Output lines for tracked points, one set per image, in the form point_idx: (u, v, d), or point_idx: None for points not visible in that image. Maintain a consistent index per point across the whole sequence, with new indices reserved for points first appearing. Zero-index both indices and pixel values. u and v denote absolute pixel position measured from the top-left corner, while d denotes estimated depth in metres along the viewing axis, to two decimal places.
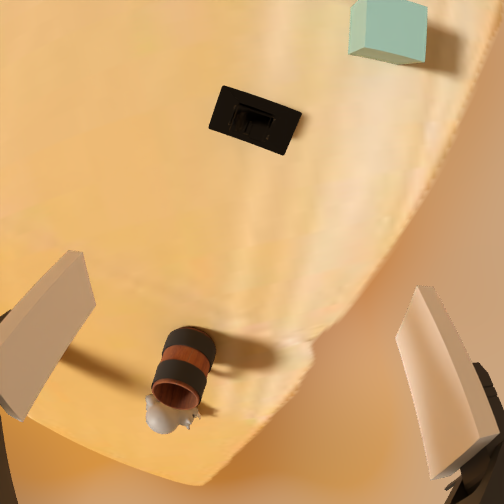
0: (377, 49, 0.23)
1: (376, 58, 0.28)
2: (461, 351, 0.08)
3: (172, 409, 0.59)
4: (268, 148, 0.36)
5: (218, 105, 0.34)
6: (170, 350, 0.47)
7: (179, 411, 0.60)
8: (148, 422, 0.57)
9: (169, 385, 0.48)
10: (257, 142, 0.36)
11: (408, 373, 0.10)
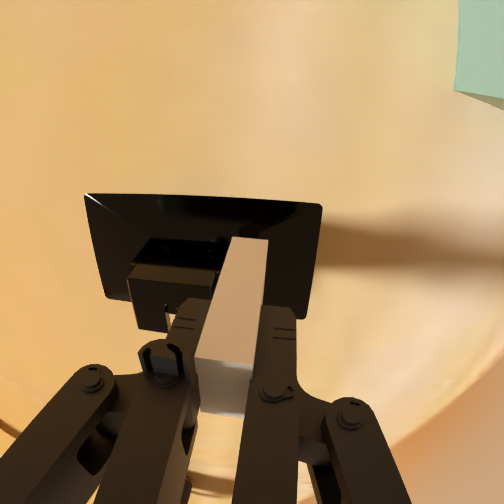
0: None
1: None
2: (255, 289, 0.10)
3: None
4: None
5: (117, 250, 0.17)
6: None
7: None
8: None
9: None
10: None
11: None
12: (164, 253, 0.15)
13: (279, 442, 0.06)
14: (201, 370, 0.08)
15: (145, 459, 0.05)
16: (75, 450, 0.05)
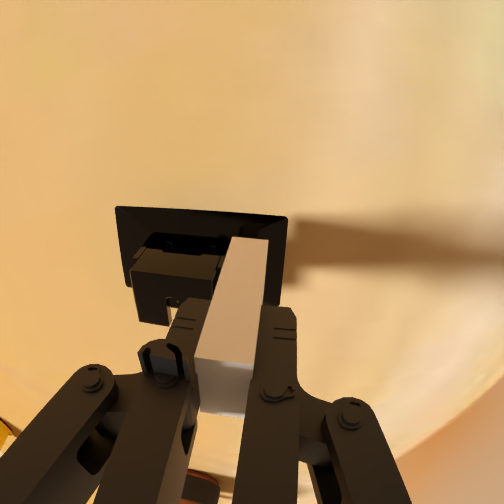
0: None
1: None
2: (255, 289, 0.10)
3: None
4: None
5: (119, 244, 0.17)
6: None
7: None
8: None
9: None
10: None
11: None
12: (166, 247, 0.16)
13: (280, 442, 0.06)
14: (201, 370, 0.08)
15: (145, 459, 0.05)
16: (75, 450, 0.05)
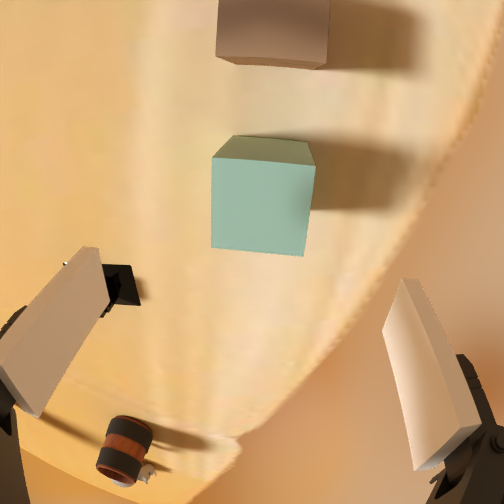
0: (230, 247, 0.21)
1: None
2: (443, 342, 0.08)
3: None
4: (127, 304, 0.35)
5: None
6: (110, 437, 0.46)
7: None
8: None
9: None
10: (116, 302, 0.35)
11: (394, 364, 0.11)
12: None
13: (492, 488, 0.04)
14: None
15: None
16: None
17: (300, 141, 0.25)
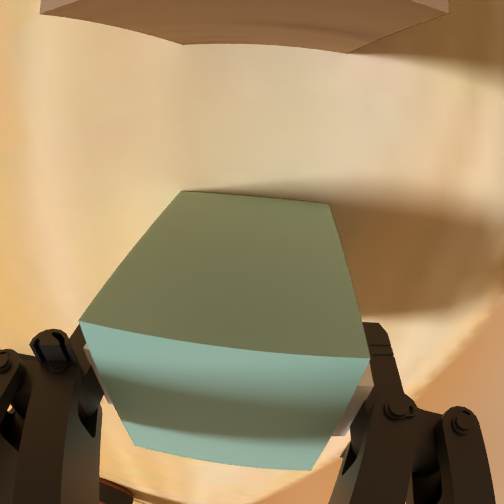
0: None
1: None
2: None
3: None
4: None
5: None
6: None
7: None
8: None
9: None
10: None
11: None
12: None
13: (396, 458, 0.05)
14: (93, 361, 0.08)
15: (47, 438, 0.05)
16: None
17: (315, 203, 0.13)
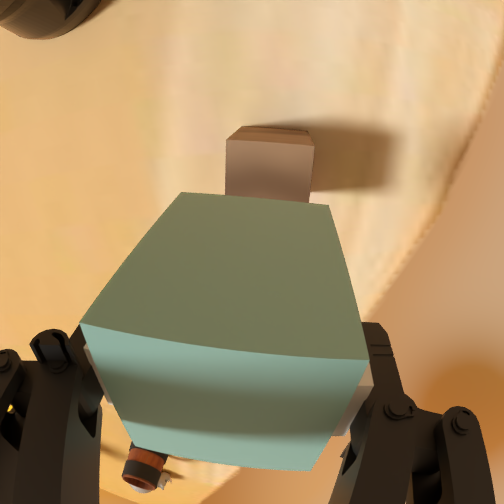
0: None
1: None
2: None
3: None
4: None
5: None
6: (133, 452, 0.54)
7: None
8: (131, 485, 0.63)
9: None
10: None
11: None
12: None
13: (396, 458, 0.05)
14: (93, 361, 0.08)
15: (47, 438, 0.05)
16: None
17: (315, 205, 0.13)
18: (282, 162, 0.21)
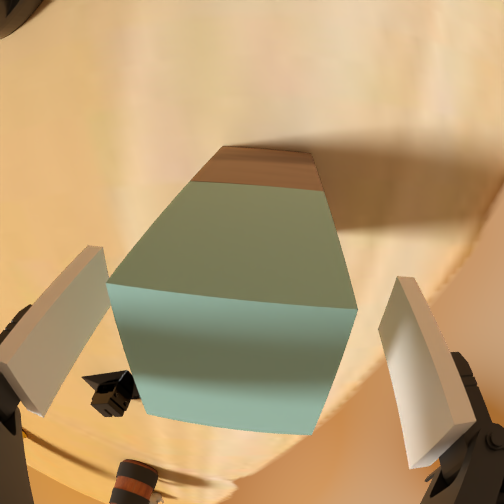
0: None
1: None
2: (438, 339, 0.08)
3: None
4: None
5: (95, 388, 0.38)
6: (120, 479, 0.48)
7: None
8: None
9: None
10: (133, 397, 0.38)
11: (389, 362, 0.11)
12: (104, 389, 0.37)
13: (488, 485, 0.04)
14: (1, 370, 0.07)
15: None
16: None
17: (312, 191, 0.14)
18: None
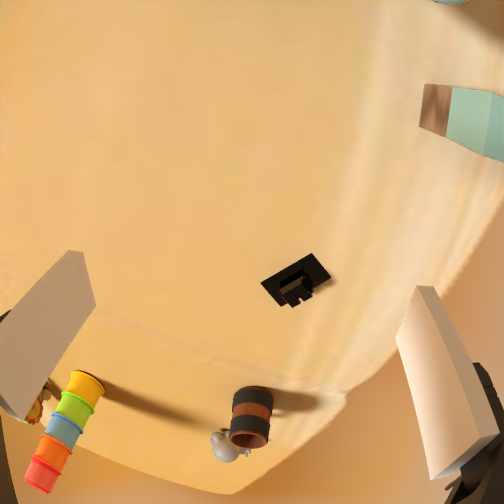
0: (491, 157, 0.22)
1: None
2: (461, 350, 0.08)
3: None
4: (320, 283, 0.49)
5: (272, 292, 0.51)
6: (242, 406, 0.59)
7: None
8: (216, 454, 0.69)
9: None
10: None
11: (408, 373, 0.10)
12: (286, 283, 0.49)
13: None
14: None
15: None
16: None
17: None
18: None
